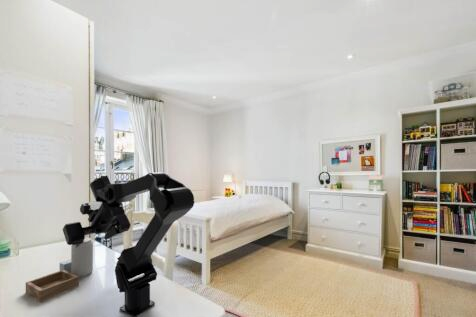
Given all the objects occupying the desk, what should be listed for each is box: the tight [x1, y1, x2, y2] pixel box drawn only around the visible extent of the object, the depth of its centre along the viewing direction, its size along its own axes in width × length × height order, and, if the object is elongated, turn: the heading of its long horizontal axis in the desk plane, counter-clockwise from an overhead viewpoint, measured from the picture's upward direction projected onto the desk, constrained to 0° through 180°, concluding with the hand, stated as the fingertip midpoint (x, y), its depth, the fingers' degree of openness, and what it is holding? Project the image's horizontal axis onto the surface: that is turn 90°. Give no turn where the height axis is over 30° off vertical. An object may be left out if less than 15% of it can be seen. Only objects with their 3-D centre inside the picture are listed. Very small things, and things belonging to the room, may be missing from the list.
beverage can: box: [70, 237, 94, 278], centre depth 84 cm, size 6×6×12 cm
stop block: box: [59, 258, 71, 273], centre depth 86 cm, size 3×8×4 cm, turn 150°
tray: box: [25, 270, 80, 303], centre depth 73 cm, size 10×10×3 cm
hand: (91, 242), depth 80 cm, fingers open, 9 cm apart
